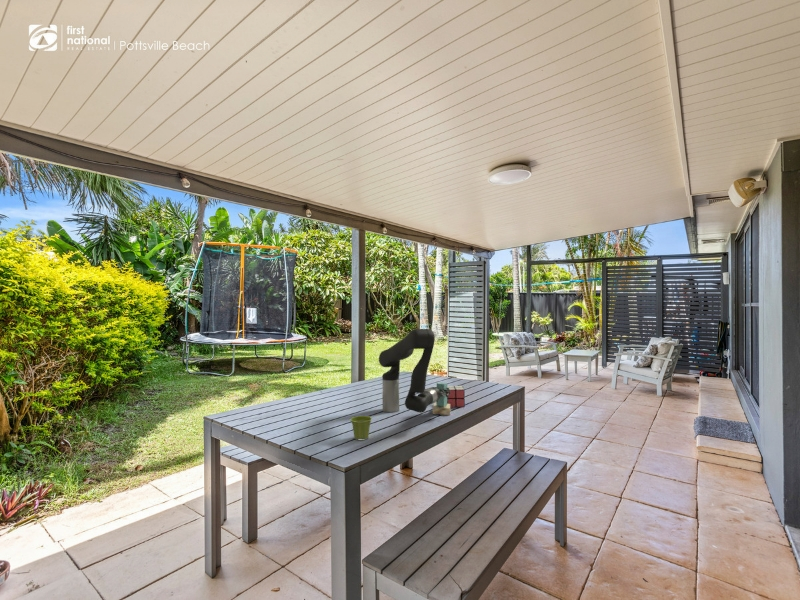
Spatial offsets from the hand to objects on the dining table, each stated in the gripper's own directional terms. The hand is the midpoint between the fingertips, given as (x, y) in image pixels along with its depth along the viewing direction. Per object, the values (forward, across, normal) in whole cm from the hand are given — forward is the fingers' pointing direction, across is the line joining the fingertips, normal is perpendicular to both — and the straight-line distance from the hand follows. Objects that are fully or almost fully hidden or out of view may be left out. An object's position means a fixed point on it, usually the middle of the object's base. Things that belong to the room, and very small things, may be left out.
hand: (443, 389), depth 218 cm
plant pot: (-56, +16, +12) cm, 59 cm away
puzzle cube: (+15, -1, +12) cm, 20 cm away
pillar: (-3, 0, +8) cm, 9 cm away
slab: (-3, 0, +12) cm, 13 cm away
